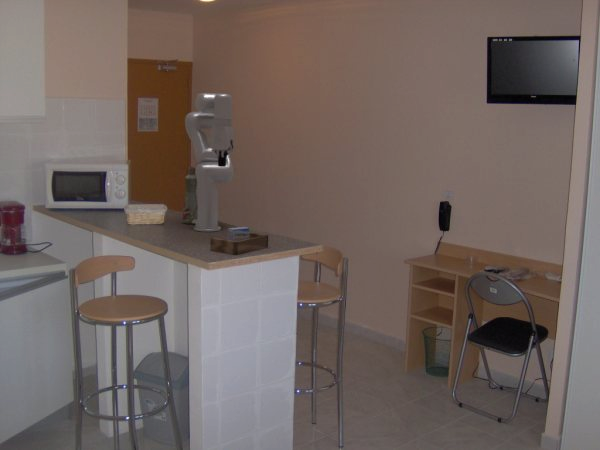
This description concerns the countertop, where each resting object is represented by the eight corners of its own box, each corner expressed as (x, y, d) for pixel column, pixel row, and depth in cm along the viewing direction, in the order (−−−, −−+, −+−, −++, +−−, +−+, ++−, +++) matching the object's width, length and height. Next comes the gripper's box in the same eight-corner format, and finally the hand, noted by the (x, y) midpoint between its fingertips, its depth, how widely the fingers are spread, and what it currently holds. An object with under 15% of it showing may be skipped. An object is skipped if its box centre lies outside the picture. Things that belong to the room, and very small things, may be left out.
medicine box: (232, 250, 291) (233, 229, 289) (227, 248, 294) (227, 227, 293) (249, 248, 295) (249, 228, 294) (243, 246, 299) (244, 226, 298)
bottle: (196, 225, 347) (196, 167, 342) (178, 224, 348) (179, 166, 344) (202, 222, 355) (202, 166, 350) (185, 221, 357) (185, 165, 352)
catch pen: (210, 250, 289) (210, 238, 289) (243, 242, 307) (243, 231, 306) (235, 254, 282) (236, 242, 281) (267, 247, 300) (268, 235, 299)
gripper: (203, 122, 306) (203, 165, 309) (230, 124, 297) (229, 168, 300) (215, 122, 312) (214, 164, 315) (241, 124, 304) (240, 167, 307)
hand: (221, 166), depth 308 cm, fingers closed
